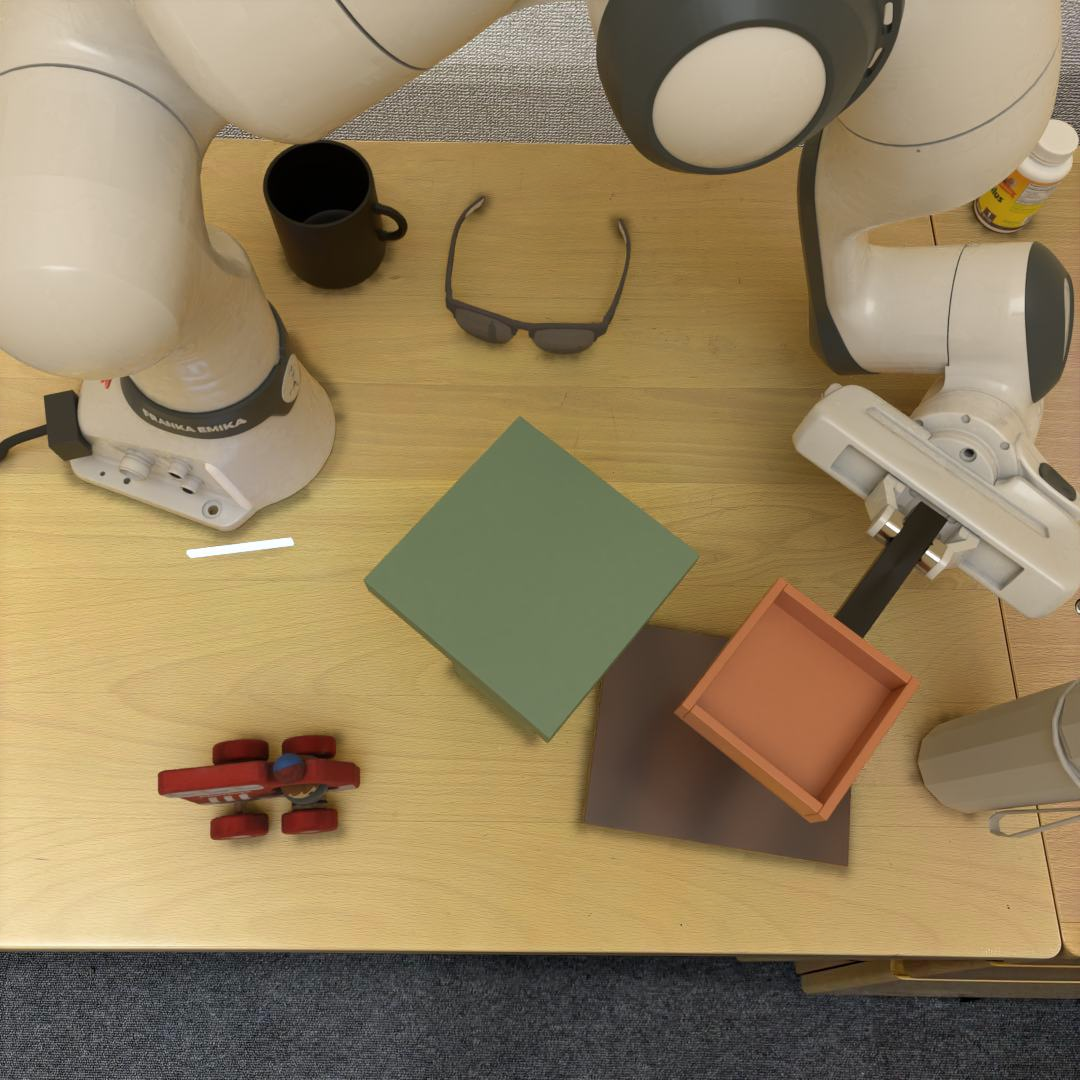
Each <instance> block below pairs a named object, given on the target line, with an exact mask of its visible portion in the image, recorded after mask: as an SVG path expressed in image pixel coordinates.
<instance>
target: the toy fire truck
mask: <svg viewBox="0 0 1080 1080" xmlns="http://www.w3.org/2000/svg"><path fill="white" fill-rule="evenodd" d="M211 751H212V757H211V761H212V762H211V763H212V765H203V766H202V765H201V766H194V767H183V768H174V769H173V768H172V769H164V770H161V771H159V772H158V773H157V793H158V795H159V796H161V797H164V798H169V799H181V800H185V801H187V802H190V803H194V804H196V805H199V806H210V805H223V804H233V810H232V811H233V812H232V813H233V814H228V815H220V816H216V817H214V818H212V819H211V820H210V822H209V827H210V829H209V836H210V839H211V840H213V841H230V840H241V839H242V840H243V839H249V838H257V837H263V836H266V835H267V834H269V829H270V827H269V826H270V825H269V824H270V823H269V822H270V821H269V814H268V813H265V812H247V811H248V810H247V809H248V808H247V807H248V805H247V804H248V802H250V801H260V800H269V799H279V798H286V799H287V800H288V801H289V802H291V809H292V810H291V811H288V812H287V811H286V812H284V813H282V814H281V819H280V821H281V826H280V827H281V828H280V829H281V833H282V834H283V835H287V836H288V835H289V836H290V835H292V836H293V835H294V836H295V835H311V834H319V833H328V832H334V831H336V830H337V829H338V827H339V812H338V810H337V809H336V808H332V807H329V808H328V806H327V805H328V803H329V802H328V799H327V795H326V793H334V792H343V791H351V790H357V789H358V788H359V787H360V785H361V768H360V766H358V765H357V764H356V763H354V761H353V762H352V761H344V760H337V759H333V758H335V757H336V755H337V740H336V738H335V737H334V736H332V735H326V734H305V735H304V734H303V735H295V736H291V737H288V738H285V739H284V740H283V741H282V742H281V755H280V756H279V757H277V758H276V760H275V761H269V759H270V743H269V742H268V741H266V740H264V739H258V738H239V739H232V740H231V739H230V740H224V741H220V742H217V743H215V744H214V745H213V746H212V750H211Z"/></svg>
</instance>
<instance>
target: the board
mask: <svg viewBox="0 0 1080 1080" xmlns="http://www.w3.org/2000/svg"><path fill="white" fill-rule="evenodd" d="M730 638H731V637H725V636H718V635H713V634H712V635H711V634H706V633H698V632H693V631H685V630H680V629H674V628H668V627H662V626H656V625H650V624H649V625H648V624H646V625H645V626H644V627H643V628H642V630H641V631H640V632H639V633H638V634H637V636H636V637H635V638H634V639H633V640H632V642H631V643H630V644H629V645H628V647H627V648H626V649H625V650H624V651H623V653H622V654H621V655H620V656H619V658H618V659H617V660H616V661H615V662H614V664H613V665H612V666H611V667H610V669H609V670H608V671H607V672H606V673H605V675H604V676H603V677H602V678H601V679H600V685H599V693H598V694H599V695H598V701H597V709H596V716H595V723H594V730H593V731H594V733H593V738H592V746H591V752H590V753H591V754H590V761H589V767H588V768H589V769H588V776H587V783H586V791H585V798H584V805H583V812H582V820H581V824H582V825H583V826H584V825H585V826H590V827H591V826H592V827H598V828H603V829H610V830H616V831H620V832H621V831H622V832H627V833H634V834H640V835H646V836H652V837H658V838H663V839H670V840H675V841H682V842H688V843H694V844H700V845H706V846H713V847H719V848H725V849H731V850H737V851H742V852H748V853H755V854H761V855H766V856H773V857H779V858H785V859H791V860H798V861H803V862H809V863H815V864H822V865H827V866H834V867H839V868H847V867H849V852H850V851H849V850H850V848H849V847H850V828H851V827H850V825H851V823H850V822H851V801H852V799H851V797H852V785H851V786H850V787H849V789H848V790H847V792H846V793H845V795H844V796H843V798H842V799H841V801H840V802H839V804H838V805H837V806H836V808H835V809H834V811H833V812H832V814H831V815H830V817H829V818H828V820H826V821H820V822H813V823H810V822H808V821H807V820H806V819H805V818H803V817H802V816H801V815H800V814H798V813H797V812H796V811H795V810H793V809H792V808H791V807H790V806H788V805H787V804H786V803H785V802H784V801H782V800H781V799H780V798H779V797H777V796H776V795H775V794H774V793H772V792H771V791H770V790H769V789H767V788H766V787H765V786H764V785H762V784H761V783H760V782H759V781H757V780H756V779H755V778H754V777H752V776H751V775H750V774H749V773H747V772H746V771H745V770H744V769H742V768H741V767H740V766H739V765H738V764H736V763H735V762H734V761H733V760H731V759H730V758H729V757H728V756H726V755H725V754H724V753H723V752H721V751H720V750H719V749H718V748H716V747H715V746H714V745H713V744H711V743H710V742H709V741H708V740H706V739H705V738H704V737H703V736H701V735H700V734H699V733H698V732H696V731H695V730H694V729H693V728H691V727H690V726H689V725H688V724H687V723H685V722H684V721H683V720H682V719H680V718H679V717H678V716H677V715H675V714H674V713H673V712H674V711H675V709H676V708H677V707H678V706H679V704H680V703H681V702H682V700H683V699H684V698H685V696H686V695H687V694H688V693H689V691H690V690H691V689H692V687H693V686H694V685H695V684H696V682H697V681H698V680H699V678H700V677H701V676H702V674H703V673H704V672H705V671H706V669H707V668H708V667H709V665H710V664H711V663H712V662H713V660H714V659H715V658H716V656H717V655H718V654H719V652H720V651H721V650H722V649H723V647H724V646H725V645H726V643H727V642H728V641H729V639H730Z"/></svg>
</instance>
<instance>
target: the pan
mask: <svg viewBox="0 0 1080 1080" xmlns="http://www.w3.org/2000/svg"><path fill="white" fill-rule="evenodd" d="M907 517H908V518H907V520H906V522H905V523H904V524H903V525H904V526H903V528H902V529H901V531H900V532H899V533H898V534H897V535H896V536H895V537H894V538H892V539H891V541H890V542H889V543H888V544H887V545H886V546H884V545H883V548H882V549H881V550H880V551H879V553H878V555H877V556H876V557H875V559H873V561H872V563H871V564H870V565H869V567H868V568H867V569H866V571H865V572H864V574H863V575H861V577H860V579H859V580H858V582H857V583H856V584H855V586H854V587H853V588H852V590H851V591H850V592H849V593H848V595H847V597H846V598H845V599H844V601H842V603H841V605H840V606H839V608H837V610H836V611H835V612H834V614H833V615H832V614H830V613H829V612H828V611H826V610H825V609H824V608H822V607H821V606H820V605H818V604H817V603H816V602H814V601H813V600H812V599H810V598H809V597H807V595H805V594H804V593H802V592H801V591H800V590H798V589H797V588H795V587H794V586H793V585H792V584H791V583H788V582H787V581H786V580H785V579H783V578H782V577H781V576H780V577H778V578H777V579H776V580H775V581H774V583H773V584H772V585H771V586H770V587H769V588H768V589H767V590H766V592H765V593H764V594H763V595H762V597H761V598H760V599H759V600H758V602H757V603H756V604H755V605H754V607H753V608H752V610H750V612H749V613H748V615H747V616H746V618H745V619H743V621H742V623H741V624H740V625H739V626H738V628H737V629H736V630H735V632H734V633H733V634H732V636H730V637H729V638H730V639H729V641H728V642H727V643H726V645H725V646H724V647H723V649H722V650H721V651H720V652H719V654H718V655H717V656H716V658H715V659H714V660H713V662H712V663H711V664H710V665H709V667H708V668H707V669H706V671H705V672H704V673H703V674H702V676H701V677H700V678H699V680H698V681H697V682H696V684H695V685H694V686H693V687H692V689H691V690H690V691H689V693H688V694H687V695H686V696H685V698H684V699H683V700H682V702H681V703H680V704H679V706H678V707H677V708H676V709H675V711H674V712H673V713H674V714H675V715H677V716H678V717H679V718H680V719H682V720H683V721H684V722H685V723H687V724H688V725H689V726H690V727H691V728H693V729H694V730H695V731H696V732H698V733H699V734H700V735H701V736H703V737H704V738H705V739H706V740H708V741H709V742H710V743H711V744H713V745H714V746H715V747H716V748H718V749H719V750H720V751H721V752H723V753H724V754H725V755H726V756H728V757H729V758H730V759H731V760H733V761H734V762H735V763H736V764H738V765H739V766H740V767H741V768H742V769H744V770H745V771H746V772H747V773H749V774H750V775H751V776H752V777H754V778H755V779H756V780H757V781H759V782H760V783H761V784H762V785H764V786H765V787H766V788H767V789H769V790H770V791H771V792H772V793H774V794H775V795H776V796H777V797H779V798H780V799H781V800H782V801H784V802H785V803H786V804H787V805H788V806H790V807H791V808H792V809H793V810H795V811H796V812H797V813H798V814H800V815H801V816H802V817H803V818H805V819H806V820H807V821H808V822H810V823H813V822H820V821H826V820H828V818H829V817H830V815H831V814H832V812H833V811H834V809H835V808H836V806H837V805H838V804H839V802H840V801H841V799H842V798H843V796H844V795H845V793H846V792H847V790H848V789H849V787H850V786H851V787H852V785H853V783H854V781H855V780H856V779H857V778H858V776H859V774H860V773H861V772H862V770H863V768H864V767H865V766H866V764H867V763H868V761H869V760H870V759H871V757H872V755H873V754H874V752H875V751H876V749H877V748H878V746H879V745H880V744H881V742H882V740H884V738H885V736H886V735H887V734H888V732H889V730H890V729H891V728H892V726H893V725H894V723H895V722H896V720H897V719H898V717H899V716H900V715H901V713H902V711H903V710H904V708H905V707H906V705H907V704H908V702H909V701H910V700H911V698H912V697H913V695H914V694H915V692H916V691H917V690H918V688H919V686H920V685H921V684H922V682H921V681H920V680H919V679H918V678H916V677H915V676H913V675H912V674H911V673H910V672H908V671H907V670H905V669H904V668H903V667H902V666H900V665H899V664H898V663H896V662H895V661H894V660H892V659H891V658H889V657H888V656H887V655H886V654H884V653H883V652H881V651H880V650H878V649H877V648H876V647H875V646H873V645H872V644H871V643H869V642H868V641H866V640H865V639H864V638H865V636H866V635H867V634H868V633H869V631H870V630H871V628H872V627H873V625H874V624H875V622H876V621H877V620H878V619H879V617H880V616H881V614H882V613H883V611H884V610H885V609H886V607H887V606H888V605H889V603H890V602H891V600H892V599H893V597H894V596H895V595H896V593H897V592H898V590H899V589H900V588H901V586H902V585H903V584H904V582H905V581H906V580H907V578H908V577H909V575H910V574H911V573H912V572H913V570H914V569H915V568H914V567H915V566H916V564H917V563H918V561H919V560H920V559H921V557H922V555H923V554H924V553H925V551H926V550H927V548H928V547H929V546H930V545H931V543H932V542H933V540H934V539H935V538H936V536H937V535H938V534H939V532H940V531H941V529H942V528H943V527H944V525H945V524H946V522H947V521H948V519H946V518H945V517H944V516H942V515H941V514H939V513H938V512H936V511H935V510H934V509H932V508H931V507H929V506H928V505H926V504H925V503H924V502H922V501H920V502H919V503H918V504H917V505H916V506H915V507H914V508H913V509H912V510H911V511H910V512H909V514H908V515H907Z"/></svg>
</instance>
